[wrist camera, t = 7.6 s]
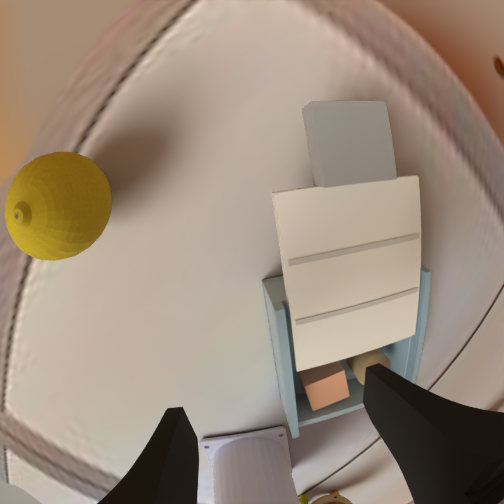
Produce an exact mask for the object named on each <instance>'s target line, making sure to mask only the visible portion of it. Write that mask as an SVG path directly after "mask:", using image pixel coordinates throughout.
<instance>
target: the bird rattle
mask: <svg viewBox="0 0 504 504" xmlns="http://www.w3.org/2000/svg"><path fill="white" fill-rule="evenodd" d="M298 500H299V503H300V504H308V500H307V496H306V495H303V494H302V495H301V496H300V498H299V499H298ZM311 504H352V503H351V502H350V501H349V500H348V499H347V498H345V497H343V496H341V495H339V493H338V492H337V491H334V492H332V493H331V494H330V495H325V496H322V497H320V498H318V499H316V500H315V501H314V502H313V503H311Z"/></svg>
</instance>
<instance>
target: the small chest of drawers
mask: <svg viewBox="0 0 504 504" xmlns="http://www.w3.org/2000/svg"><path fill="white" fill-rule="evenodd" d="M302 113H303V119H304V124H305V130H306V136H307V142H308V148H309V155H310V161H311V168H312V175H313V182H314V186H312V187H305V188H298V189H291V190H284V191H278V192H272V193H271V194H272V200H273V207H274V214H275V220H276V227H277V234H278V241H279V248H280V255H281V263H282V270H283V277H284V285H285V293H286V301H287V308H288V317H289V325H290V333H291V342H292V350H293V359H294V366H295V368H296V371H297V372H298V371H302V370H306V369H310V368H313V367H317V366H321V365H325V364H328V363H332V362H335V361H339V360H342V359H346V358H349V357H352V356H355V355H359V354H362V353H365V352H368V351H371V350H374V349H377V348H380V347H383V346H386V345H389V344H391V343H394V342H397V341H400V340H402V339H405V338H408V337H410V336H413V335H415V330H416V322H417V312H418V302H419V289H420V271H421V207H420V190H419V177H418V176H416V175H408V176H397V173H396V164H395V156H394V148H393V141H392V134H391V128H390V122H389V116H388V111H387V106H386V101H313V102H310V103H309V104H308V105H306V106H305V107H303V108H302Z"/></svg>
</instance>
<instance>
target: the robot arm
mask: <svg viewBox="0 0 504 504" xmlns="http://www.w3.org/2000/svg"><path fill="white" fill-rule="evenodd" d="M363 404H364V406H365V408H366V411H367V413H368V415H369V417H370V419H371V421H372V423H373V425H374V426H375V428H376V429H377V431H378V433H379V434H380V436H381V437H382V439H383V440H384V442H385V444H386V445H387V447H388V448H389V450H390V451H391V453H392V454H393V456H394V458H395V459H396V461H397V463H398V465H399V467H400V469H401V471H402V473H403V476H404V478H405V480H406V482H407V485H408V487H409V490H410V492H411V495H412V497H413V500H414V503H415V504H504V412H494V411H488V410H482V409H478V408H473V407H469V406H466V405H462V404H459V403H456V402H453V401H450V400H448V399H445V398H443V397H440V396H438V395H436V394H434V393H432V392H429V391H427V390H425V389H423V388H421V387H420V386H418V385H416V384H414V383H412V382H410V381H409V380H407V379H405V378H404V377H402V376H400V375H398V374H397V373H395V372H393V371H392V370H390V369H389V368H387V367H385V366H384V365H382V364H380V363H377V364H374V365H372V366H369V367H366V371H365V382H364V393H363ZM200 445H201V447H202V449H203V451H204V453H205V455H206V456H207V458H208V460H209V462H210V464H211V466H212V467H213V479H214V499H215V504H300V503H299V500H298V496H297V492H296V489H295V485H294V481H293V478H292V474H291V473H292V466H291V459H290V453H289V446H288V439H287V433H286V428H285V427H283V426H280V427H275V428H270V429H265V430H260V431H254V432H249V433H243V434H236V435H229V436H222V437H214V438H205V439H201V440H200ZM198 470H199V452H198V439H197V436H196V434H195V432H194V430H193V428H192V426H191V424H190V422H189V420H188V417H187V415H186V413H185V411H184V409H183V407H176V408H168V409H167V410H166V411H165V413H164V415H163V417H162V419H161V421H160V423H159V424H158V426H157V428H156V430H155V432H154V433H153V435H152V437H151V438H150V440H149V442H148V443H147V445H146V447H145V448H144V450H143V451H142V453H141V454H140V456H139V457H138V459H137V460H136V462H135V463H134V465H133V466H132V467H131V469H130V470H129V471H128V472H127V474H126V475H125V476H124V477H123V478H122V480H121V481H120V482H119V483H118V484H117V485H116V486H115V487H114V488H113V489H112V490H111V491H110V492H109V493H108V494H107V495H106V496H105V497H104V498H103V499H102V500H101V501H100V502H98V503H97V504H197V490H198Z"/></svg>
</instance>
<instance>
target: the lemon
mask: <svg viewBox="0 0 504 504" xmlns="http://www.w3.org/2000/svg"><path fill="white" fill-rule="evenodd" d="M111 206H112V195H111V189H110V185H109V183H108V180H107V177H106V176H105V174H104V173H103V171H102V170H101V168H100V167H99V166H98V165H97V164H95V163H94V162H93V161H92V160H91V159H89V158H87V157H85V156H82V155H80V154H77V153H73V152H54V153H51V154H47V155H43V156H40V157H38V158H36V159H34V160H33V161H31V162H30V163H28V164H27V165H25V166H24V167H23V168H22V169H21V170H20V171H19V173H18V174H17V175H16V176H15V178H14V179H13V181H12V183H11V185H10V187H9V189H8V193H7V197H6V201H5V220H6V224H7V228H8V231H9V233H10V235H11V237H12V239H13V240H14V242H15V243H16V244H17V246H18V247H19V248H20V249H21V250H23V251H24V252H25V253H26V254H28V255H30V256H32V257H35V258H37V259H41V260H61V259H65V258H69V257H72V256H75V255H77V254H79V253H81V252H82V251H84V250H85V249H87V248H88V247H90V246H91V245H92V244H93V243H94V242H95V241H96V240H97V239H98V238H99V236H100V235H101V234H102V232H103V230H104V229H105V227H106V225H107V223H108V220H109V217H110V213H111Z"/></svg>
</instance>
